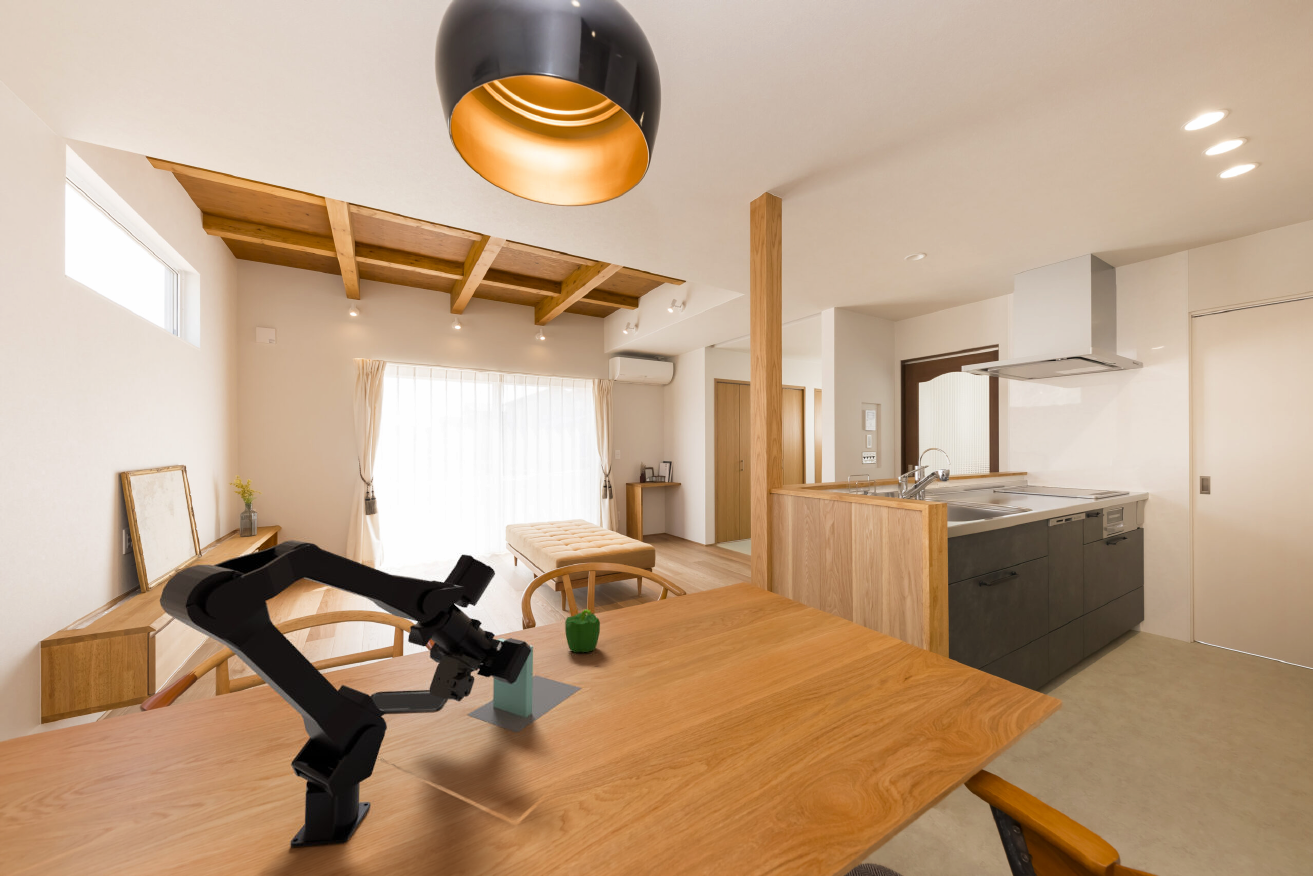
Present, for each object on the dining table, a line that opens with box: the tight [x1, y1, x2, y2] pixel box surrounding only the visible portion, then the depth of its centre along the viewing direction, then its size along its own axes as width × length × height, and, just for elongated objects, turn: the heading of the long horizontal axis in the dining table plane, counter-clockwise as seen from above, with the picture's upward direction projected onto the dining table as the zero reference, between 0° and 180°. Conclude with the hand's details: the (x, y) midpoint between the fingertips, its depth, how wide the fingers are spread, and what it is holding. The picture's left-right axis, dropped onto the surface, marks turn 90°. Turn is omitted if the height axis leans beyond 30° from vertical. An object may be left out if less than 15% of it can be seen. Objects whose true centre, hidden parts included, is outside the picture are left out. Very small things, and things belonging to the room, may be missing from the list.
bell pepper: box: [564, 608, 601, 653], centre depth 119 cm, size 8×8×10 cm
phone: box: [369, 689, 449, 714], centre depth 92 cm, size 8×1×15 cm
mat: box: [466, 675, 582, 734], centre depth 93 cm, size 18×12×1 cm, turn 152°
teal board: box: [492, 638, 534, 718], centre depth 90 cm, size 2×8×12 cm, turn 62°
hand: (504, 673), depth 88 cm, fingers closed
